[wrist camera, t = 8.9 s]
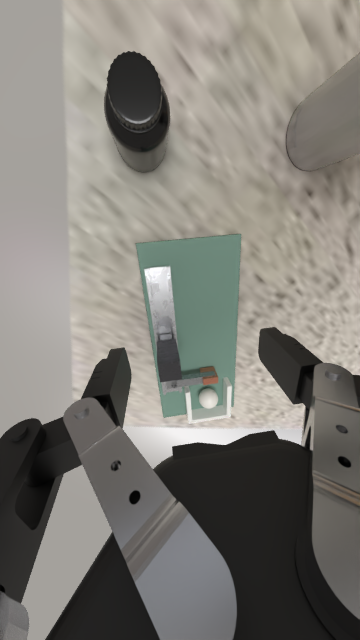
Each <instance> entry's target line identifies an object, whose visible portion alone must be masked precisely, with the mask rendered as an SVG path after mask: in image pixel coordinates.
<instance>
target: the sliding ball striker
mask: <svg viewBox="0 0 360 640" xmlns="http://www.w3.org/2000/svg"><path fill="white" fill-rule="evenodd" d="M157 366H158V373H159V379H160V382H166V386H167V389H172V388H177V387H184V386H190V385H197V384H203V385H209V384H215V383H218V375H217V373H216V371H215V368H214V366H213V367H206V368H200V373H196V374H189V375H182V374H181V364H180V358H179V353H178V348H177V343H176V339H173V340H172V336H171V334H164V335H160V341H157Z"/></svg>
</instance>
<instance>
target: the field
mask: <svg viewBox="0 0 360 640" xmlns="http://www.w3.org/2000/svg"><path fill="white" fill-rule="evenodd" d="M136 247H137V253H138V260H139V266H140V272H141V278H142V285H143V291H144V297H145V304H146V310H147V316H148V322H149V329H150V335H151V341H152V347H153V354H154V360H155V366H156V372H157V379H158V385H159V391H160V397H161V404H162V410H163V416H164V418H165V417H171V416H177V415H184V414H187V413H186V402H185V391H184V387H182V392H180V393H179V391H174V392H167V393H166V395H163V390H162V383H161V382H160V379H159V373H158V366H157V350H156V343H155V337H154V330H153V323H152V317H151V310H150V304H149V297H148V290H147V284H146V277H145V270H144V268H146V267H156V266H166V265H170V271H171V281H172V291H173V302H174V312H175V322H176V332H177V343H178V353H179V358H180V364H181V374H182V375H189V374H196V373H200V368H206V367H213V366H214V368H215V371H216V373H217V375H218V383H215V384H209V385H203V384H197V385H190V386H189V389H190V396H191V409H192V410H194V409H200V408H204V407H203V406H202V405H201V404H200V402H199V394H200V392H201V391H202V390H204V389H206V388H210V389H212V390H214V391H215V392H216V393H217V396H218V402H217V405H216V406H219V405H223V378H224V377H228V379H229V381H230V383H231V385H232V396H231V407H233V405H234V383H235V361H236V338H237V316H238V294H239V272H240V250H241V234H234V235H223V236H212V237H201V238H190V239H179V240H168V241H157V242H146V243H136Z"/></svg>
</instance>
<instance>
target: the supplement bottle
mask: <svg viewBox="0 0 360 640" xmlns="http://www.w3.org/2000/svg"><path fill="white" fill-rule="evenodd" d="M107 81H108V83H107V88H106V91H105V97H104V111H105V117H106V121H107V124H108V127H109V129H110V132H111V134H112V136H113V139H114V141H115V143H116V146H117V148H118V151H119V153H120V155H121V157H122V158H123V160H124V161H125V162H126V164H127V165H129V166H130V167H131V168H133V169H134V170H137V171H140V172H148V171H151V170H153V169H155V168H156V167H157V166H159V164H160V163H161V162H162V160H163V157H164V155H165V151H166V145H167V138H168V132H169V125H170V107H169V102H168V99H167V95H166V93H165V91H164V88H163V87H162V85H161V83H160V79H159V77H158V73H157V72H156V70H155V67H154V66H153V65H152V64H151V62H150V61H149V60H147V58H146V57H145V56H142V55H141V54H140V53H136V52H134V51H133V52H130V51H128V52H126V53H125V52H123V53H122V54H121V55H118V56H117V58H116V59H114V61H113V63H112V64H111V66H110V70H109V71H108V77H107Z"/></svg>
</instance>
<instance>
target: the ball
mask: <svg viewBox="0 0 360 640" xmlns="http://www.w3.org/2000/svg"><path fill="white" fill-rule="evenodd" d="M199 402H200V404H201V405H202V406H203V407H204V408H207V409H211V408H213V407H215V406H216V405H217V402H218V396H217V393H216V392H215V391H214V390H212V389H210V388H206V389H204V390H202V391H201V392H200V394H199Z"/></svg>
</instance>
